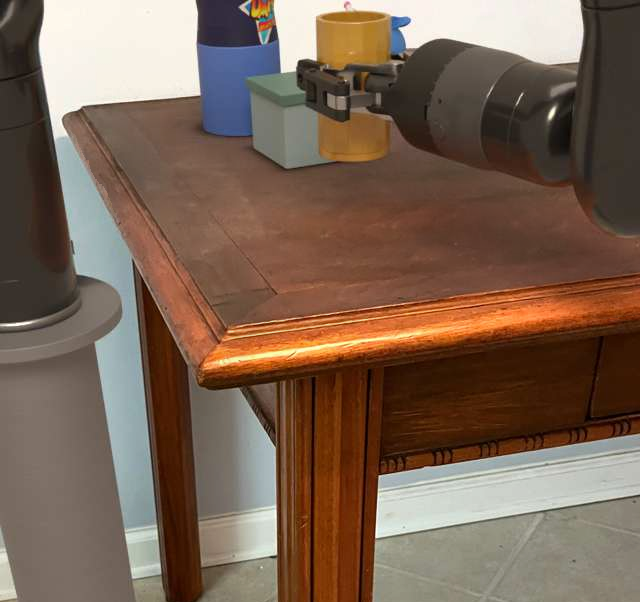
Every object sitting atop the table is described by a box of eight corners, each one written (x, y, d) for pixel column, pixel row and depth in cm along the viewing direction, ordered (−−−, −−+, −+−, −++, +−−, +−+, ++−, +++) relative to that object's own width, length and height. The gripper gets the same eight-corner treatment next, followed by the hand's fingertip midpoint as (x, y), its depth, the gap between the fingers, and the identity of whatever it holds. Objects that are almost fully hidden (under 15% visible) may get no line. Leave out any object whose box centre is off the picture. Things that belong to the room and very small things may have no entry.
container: (284, 170, 106) (281, 95, 102) (249, 148, 113) (245, 77, 109) (380, 155, 110) (380, 82, 106) (340, 134, 117) (339, 65, 113)
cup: (336, 165, 84) (334, 25, 78) (307, 148, 88) (303, 14, 83) (401, 156, 86) (404, 18, 80) (369, 139, 90) (370, 8, 84)
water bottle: (185, 131, 120) (160, -133, 106) (230, 112, 126) (212, -139, 112) (257, 139, 116) (241, -133, 102) (299, 119, 123) (289, -139, 108)
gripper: (556, 34, 75) (407, 5, 86) (392, 61, 68) (254, 26, 80) (545, 145, 79) (405, 104, 91) (390, 180, 73) (260, 131, 84)
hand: (335, 68), depth 85 cm, fingers closed on cup, 6 cm apart
